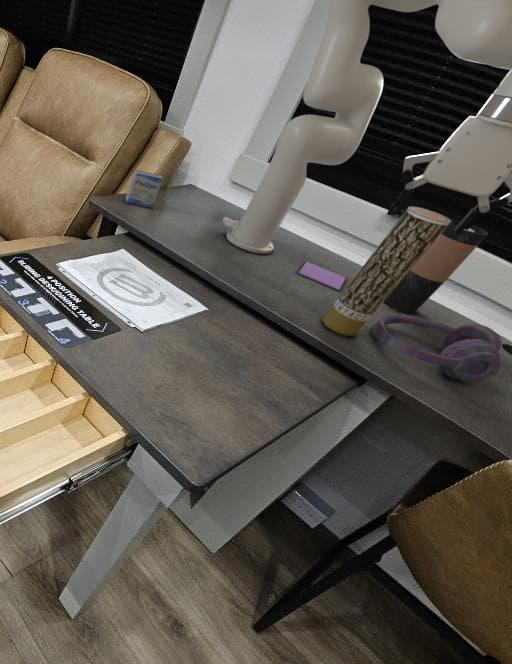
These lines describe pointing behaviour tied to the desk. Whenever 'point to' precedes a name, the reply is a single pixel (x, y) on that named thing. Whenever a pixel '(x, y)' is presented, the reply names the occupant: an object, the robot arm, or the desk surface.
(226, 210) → the desk surface
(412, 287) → the travel mug
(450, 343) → the headphones
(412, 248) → the paper tube
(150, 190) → the medicine box
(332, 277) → the mat
